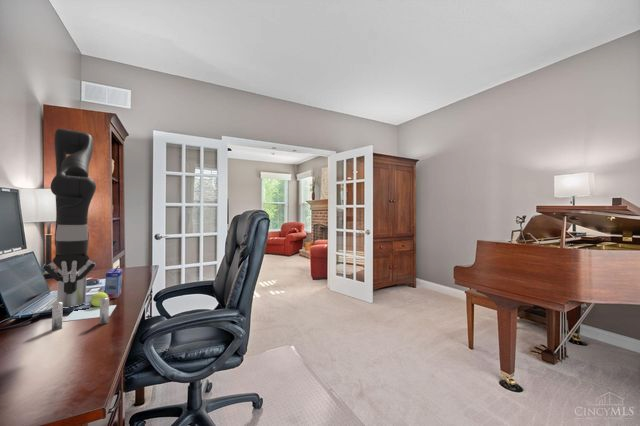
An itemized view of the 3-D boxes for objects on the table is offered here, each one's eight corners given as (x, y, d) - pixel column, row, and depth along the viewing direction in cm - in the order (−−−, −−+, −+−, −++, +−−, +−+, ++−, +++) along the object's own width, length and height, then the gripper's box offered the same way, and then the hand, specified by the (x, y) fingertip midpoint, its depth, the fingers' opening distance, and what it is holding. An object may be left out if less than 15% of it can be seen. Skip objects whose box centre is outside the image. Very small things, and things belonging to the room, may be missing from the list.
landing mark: (75, 309, 114) (75, 309, 114) (116, 305, 120) (116, 304, 120) (62, 321, 101) (62, 321, 101) (109, 316, 108) (109, 315, 108)
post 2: (100, 322, 102) (101, 297, 102) (109, 321, 103) (110, 297, 103) (98, 324, 99) (99, 299, 99) (107, 323, 101) (108, 299, 101)
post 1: (53, 327, 96) (54, 302, 96) (63, 326, 97) (64, 301, 97) (50, 330, 93) (51, 304, 93) (60, 329, 95) (61, 303, 95)
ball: (92, 304, 120) (92, 290, 119) (109, 302, 123) (109, 289, 122) (88, 309, 115) (88, 296, 114) (106, 307, 117) (106, 294, 117)
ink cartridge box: (118, 298, 130) (119, 267, 130) (103, 299, 128) (105, 268, 128) (122, 292, 139) (123, 264, 139) (108, 293, 136) (109, 264, 136)
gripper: (101, 237, 93) (99, 288, 93) (49, 238, 87) (47, 292, 87) (95, 239, 87) (93, 294, 86) (38, 240, 81) (36, 299, 80)
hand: (70, 293), depth 87 cm, fingers closed
